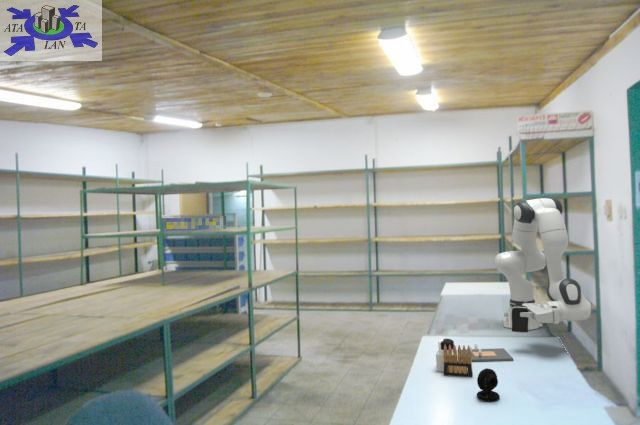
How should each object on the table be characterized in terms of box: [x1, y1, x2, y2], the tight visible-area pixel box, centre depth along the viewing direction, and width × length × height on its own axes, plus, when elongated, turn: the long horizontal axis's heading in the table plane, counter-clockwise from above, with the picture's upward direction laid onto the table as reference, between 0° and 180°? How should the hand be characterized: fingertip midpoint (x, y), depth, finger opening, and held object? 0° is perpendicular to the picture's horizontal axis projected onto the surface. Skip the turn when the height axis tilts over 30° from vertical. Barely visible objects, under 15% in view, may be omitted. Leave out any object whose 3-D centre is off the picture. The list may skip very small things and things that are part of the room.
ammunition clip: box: [443, 344, 474, 378], centre depth 195 cm, size 11×2×12 cm, turn 70°
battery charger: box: [511, 306, 529, 333], centre depth 219 cm, size 7×4×11 cm, turn 72°
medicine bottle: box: [435, 338, 458, 373], centre depth 202 cm, size 7×7×12 cm
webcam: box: [476, 368, 500, 403], centre depth 172 cm, size 8×8×10 cm
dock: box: [456, 343, 514, 363], centre depth 215 cm, size 14×20×4 cm
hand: (517, 312), depth 219 cm, fingers closed on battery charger, 4 cm apart
